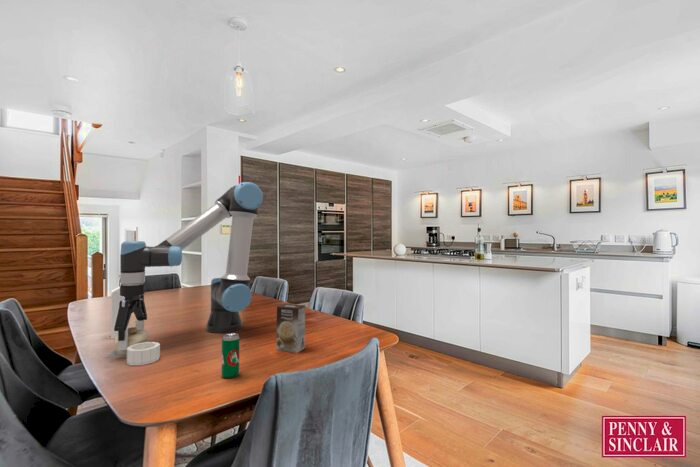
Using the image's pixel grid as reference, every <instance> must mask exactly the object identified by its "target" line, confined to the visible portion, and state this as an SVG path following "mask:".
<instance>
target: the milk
mask: <svg viewBox="0 0 700 467" xmlns="http://www.w3.org/2000/svg"><path fill="white" fill-rule="evenodd" d="M121 285H122V284H121V283H120V282H119V286H117V287H116V288H114V289H112V290H111V291H110V293H111V294H110V300H111V301H110V339H111V340H113V339H114V340H115V335H117V334H118V331H114V327H115V323H116V319H117V315H118V310H119V303H120V301H124V300H125V297H124V296H120V286H121ZM128 328H130V322H129V323H128V326H127V329H128ZM127 329H126V330H127Z"/></svg>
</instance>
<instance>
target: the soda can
mask: <svg viewBox="0 0 700 467" xmlns="http://www.w3.org/2000/svg"><path fill="white" fill-rule="evenodd" d="M240 340H241V338H240V336H239V333H236V332H231V333H229V332H227V333H224V334H223V335H222V338H221V371H220V372H221V374H220V376H222V378H224V379H232V378H235V377H236V378H237V376H239V374H240V363H241V362H240V360H241V359H240V355H241V354H240V353H241V351H240V350H241V348H240V347H241V346H240V342H241V341H240Z"/></svg>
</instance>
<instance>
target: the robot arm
mask: <svg viewBox="0 0 700 467" xmlns="http://www.w3.org/2000/svg"><path fill="white" fill-rule="evenodd" d="M263 200H264V195H263V192H262V189H261V188H260V187H259V186H258V185H257V184H256V183H254V182H252V181H250V182H249V181H246V182H244V181H243V182H240V183H238V184H236V185H234V186H232V187H229V189H228V190H226V192H224V193H223V195H221V196H220V197H219V198H217V199H215V200H214V204H213V205H212V206H210V207H208V209H206V210H204V211H203V212H202V213H200V214H199V215H198V216H196V217H195V218H194V219H192V220H191V221H189V222H188V223H186V224H185V225H184V226H183V227H181V228H179V229H178V230H177V231H176V232H174V233H172V235H171V234H170V236H168V237H167V238H166V239H164V240H163V241H162V242H160V243H159V244H157V245H155V246H148V245H146V244H147V243H146V242H145V241H144V240H143V241H141V240H140V241H139V240H138V241H137V240H131V241H130V240H126V241H123V242H122V243H121V245H120V260H119V261H120V271H119V272H120V274H119V275H118V277H119V278H120V279H119V284H120V283H121V286H120V285H119V286H120V296H124V297H125V300H124V301H120V303H119V310H118V315H117V319H116V323H115V327H114V331H118V350H127V346H128V330H126V329H127V326H128V323H129V324H130V320H131V317H132V314H134V316H135V318H136V320H135V321H134V322H135V326H134V327H136V328H137V330H145V321H147V320H148V314H147V308H146V304H145V293H146V291H145V290H146V285H145V284H144V283H145V282H146V268H151V267H152V268H153V267H154V268H155V267H159V268H160V267H161V268H162V267H171V268H172V267H177V266H181V264H182V263H183V262H182V261H183V251H184V250H185V249H187V247H189V246H190V245H192V244H193V243H194V242H195V241H197V240H198V239H200V238H201V237H202V236H203V235H205V234H206V233H208V232H209V231H210V230H212V229H213V228H214V227H216V225H218V224H220V223H222V221H224V220H226V219H230V218H231V217H232V218H231V228H230V236H229V242H228V243H229V244H228V250H227V251H228V252H227V259H226V260H227V261H226V266H225V267H226V268H225V273H224V274H223V275H222V276H221V277H215V278H212V279H211V282H210V313H209V316H208V319H207V323H206V327H205V328H206V329H205V330H206V331H207V332H209V333H215V334H216V333H219V334H220V333H221V334H222V333H229V332H231V333H232V332H235V331H238V330H240V329H242V328H243V322H242V321H243V320H242V318H241V315H240V312H241V311H244V310H245V309H246V308H247V307H248V306H250V304H251V302H252V298H253V294H252V290H251V289H250V285H251V284H250V283H251V278H250V277H249V275H248V269H249V261H250V254H251V253H250V251H251V242H252V234H253V225H254V220H255V218H257V217H258V214H259V207H260V206H261V205H262V203H263Z"/></svg>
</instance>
